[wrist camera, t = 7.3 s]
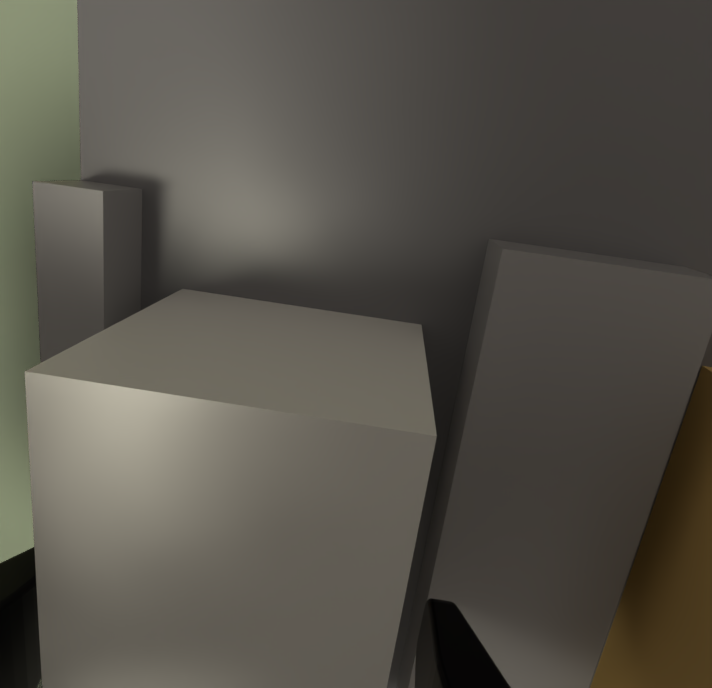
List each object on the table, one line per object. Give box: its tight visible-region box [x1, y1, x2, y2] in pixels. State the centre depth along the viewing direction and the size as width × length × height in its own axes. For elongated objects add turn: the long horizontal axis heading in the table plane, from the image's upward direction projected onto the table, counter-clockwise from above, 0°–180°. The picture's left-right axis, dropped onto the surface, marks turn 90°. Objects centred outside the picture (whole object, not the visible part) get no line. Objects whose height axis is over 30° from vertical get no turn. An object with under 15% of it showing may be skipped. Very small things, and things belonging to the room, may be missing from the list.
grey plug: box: [25, 289, 437, 688], centre depth 9 cm, size 4×9×4 cm, turn 172°
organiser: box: [32, 0, 712, 688], centre depth 9 cm, size 23×16×3 cm
